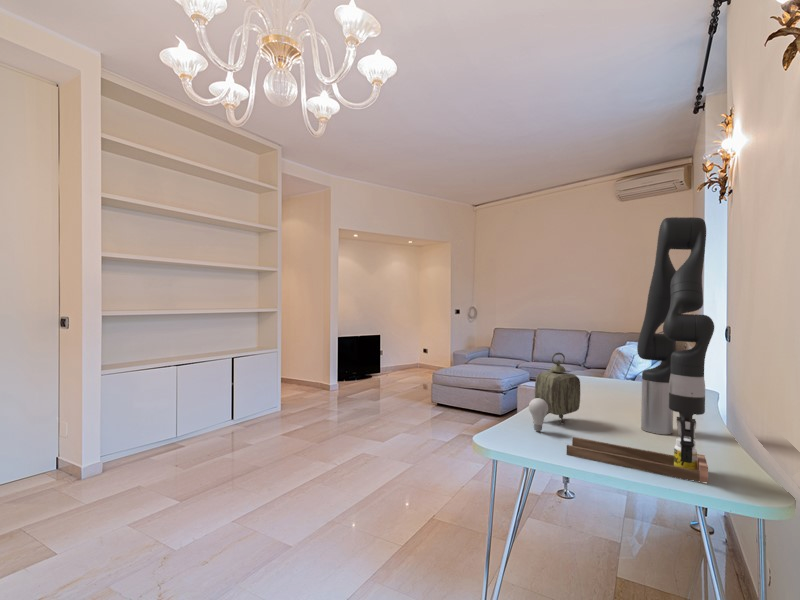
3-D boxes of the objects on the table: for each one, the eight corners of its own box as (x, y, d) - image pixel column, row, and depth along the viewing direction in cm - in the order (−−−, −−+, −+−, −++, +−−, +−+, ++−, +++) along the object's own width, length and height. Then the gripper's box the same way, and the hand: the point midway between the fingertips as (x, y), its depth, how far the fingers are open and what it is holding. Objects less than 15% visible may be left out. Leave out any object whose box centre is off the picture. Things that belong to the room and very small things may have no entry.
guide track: (572, 445, 122) (573, 431, 122) (704, 470, 104) (704, 455, 105) (566, 454, 113) (566, 440, 113) (707, 484, 96) (708, 467, 96)
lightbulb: (549, 435, 130) (549, 401, 131) (529, 433, 132) (530, 399, 132) (546, 429, 136) (546, 397, 137) (527, 428, 138) (528, 395, 138)
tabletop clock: (560, 416, 154) (561, 350, 154) (581, 423, 146) (583, 353, 146) (533, 421, 146) (535, 352, 146) (555, 428, 138) (556, 355, 139)
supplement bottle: (669, 469, 105) (669, 436, 105) (686, 469, 105) (686, 436, 105) (683, 477, 100) (684, 443, 100) (701, 477, 100) (702, 443, 101)
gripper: (707, 400, 95) (706, 469, 95) (702, 390, 107) (701, 452, 107) (669, 395, 99) (668, 462, 99) (668, 386, 111) (667, 446, 111)
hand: (685, 456), depth 103 cm, fingers open, 8 cm apart
